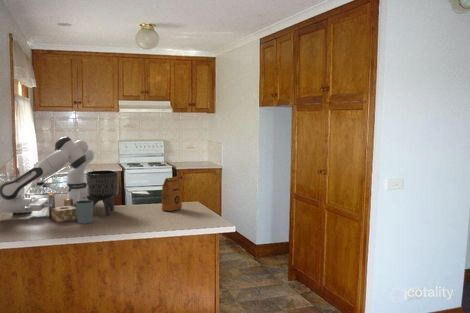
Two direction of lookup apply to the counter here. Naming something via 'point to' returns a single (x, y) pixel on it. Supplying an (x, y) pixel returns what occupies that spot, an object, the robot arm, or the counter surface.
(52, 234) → the counter surface
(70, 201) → the thick bronze bit
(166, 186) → the coffee package
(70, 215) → the socket block
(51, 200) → the steel bit
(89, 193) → the planter
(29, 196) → the ammunition clip
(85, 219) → the blue-grey cup
